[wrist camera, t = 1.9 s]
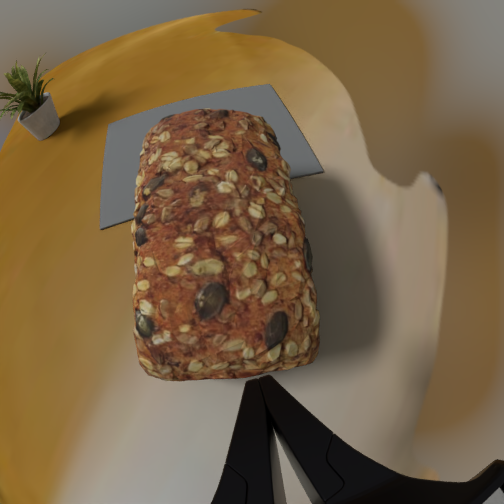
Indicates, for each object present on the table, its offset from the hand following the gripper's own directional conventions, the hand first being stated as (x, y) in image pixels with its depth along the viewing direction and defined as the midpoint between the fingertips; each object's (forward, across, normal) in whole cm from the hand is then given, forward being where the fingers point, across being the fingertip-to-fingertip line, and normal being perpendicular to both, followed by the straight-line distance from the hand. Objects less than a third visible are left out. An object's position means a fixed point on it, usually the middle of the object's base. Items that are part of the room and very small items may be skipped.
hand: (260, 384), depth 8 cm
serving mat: (+27, 0, -10) cm, 28 cm away
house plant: (+39, +27, -21) cm, 52 cm away
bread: (+16, 0, +2) cm, 16 cm away
